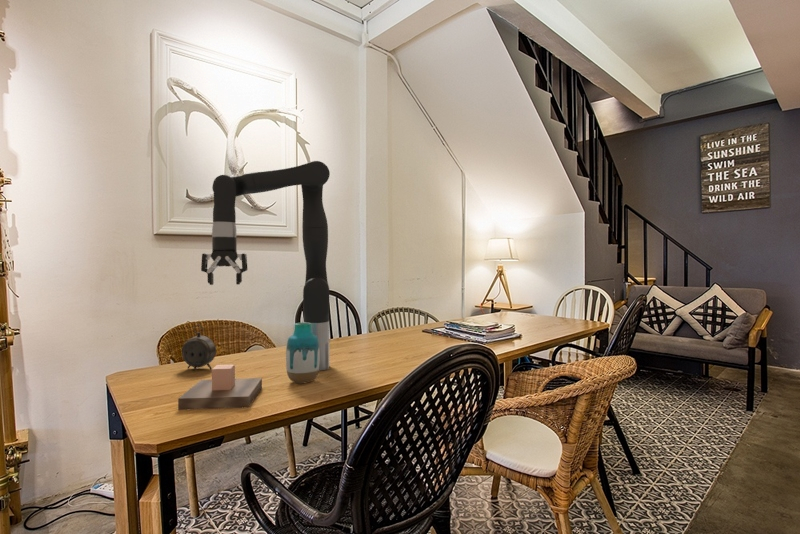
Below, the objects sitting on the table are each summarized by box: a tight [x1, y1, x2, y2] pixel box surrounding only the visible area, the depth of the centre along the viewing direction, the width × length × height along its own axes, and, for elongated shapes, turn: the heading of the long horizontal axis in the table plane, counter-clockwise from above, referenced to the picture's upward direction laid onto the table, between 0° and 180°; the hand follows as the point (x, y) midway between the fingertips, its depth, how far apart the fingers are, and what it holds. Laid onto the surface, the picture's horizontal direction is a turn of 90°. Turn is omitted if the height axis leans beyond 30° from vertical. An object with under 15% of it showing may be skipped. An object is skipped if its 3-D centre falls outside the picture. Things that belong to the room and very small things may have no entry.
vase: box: [285, 321, 320, 384], centre depth 141 cm, size 11×11×19 cm
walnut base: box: [177, 377, 263, 411], centre depth 124 cm, size 18×18×3 cm
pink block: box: [211, 364, 236, 390], centre depth 124 cm, size 5×5×6 cm
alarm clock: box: [181, 324, 217, 372], centre depth 156 cm, size 11×5×16 cm, turn 84°
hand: (224, 284), depth 145 cm, fingers open, 8 cm apart
